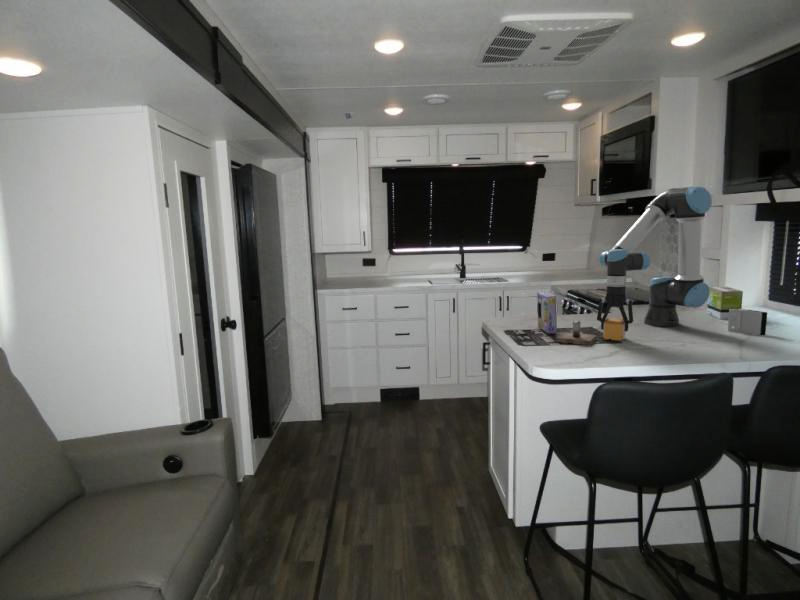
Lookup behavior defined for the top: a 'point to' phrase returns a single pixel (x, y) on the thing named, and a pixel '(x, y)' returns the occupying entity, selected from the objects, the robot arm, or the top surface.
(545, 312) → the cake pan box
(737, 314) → the gray black rectangular block
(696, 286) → the robot arm
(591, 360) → the top surface
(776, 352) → the top surface
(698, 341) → the top surface
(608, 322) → the orange cube block
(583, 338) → the base plate
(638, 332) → the top surface
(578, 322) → the post
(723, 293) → the tea box
